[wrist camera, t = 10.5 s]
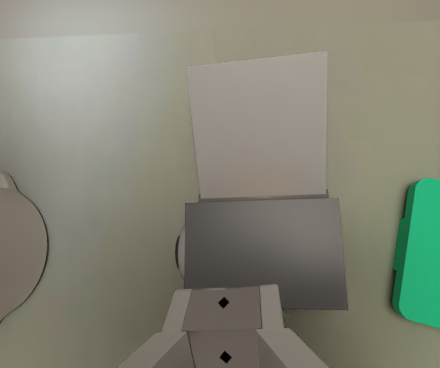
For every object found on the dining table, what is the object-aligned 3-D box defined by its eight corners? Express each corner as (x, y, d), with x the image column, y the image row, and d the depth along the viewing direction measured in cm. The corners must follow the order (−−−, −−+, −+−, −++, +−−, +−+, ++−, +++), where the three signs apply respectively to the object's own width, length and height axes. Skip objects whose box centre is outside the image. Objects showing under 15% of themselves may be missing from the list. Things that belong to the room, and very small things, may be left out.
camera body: (190, 292, 31) (166, 305, 24) (191, 211, 32) (169, 203, 25) (330, 294, 28) (348, 310, 22) (324, 207, 30) (338, 197, 23)
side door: (199, 207, 31) (183, 67, 27) (202, 202, 32) (187, 68, 29) (328, 203, 29) (329, 50, 25) (325, 197, 30) (326, 52, 26)
